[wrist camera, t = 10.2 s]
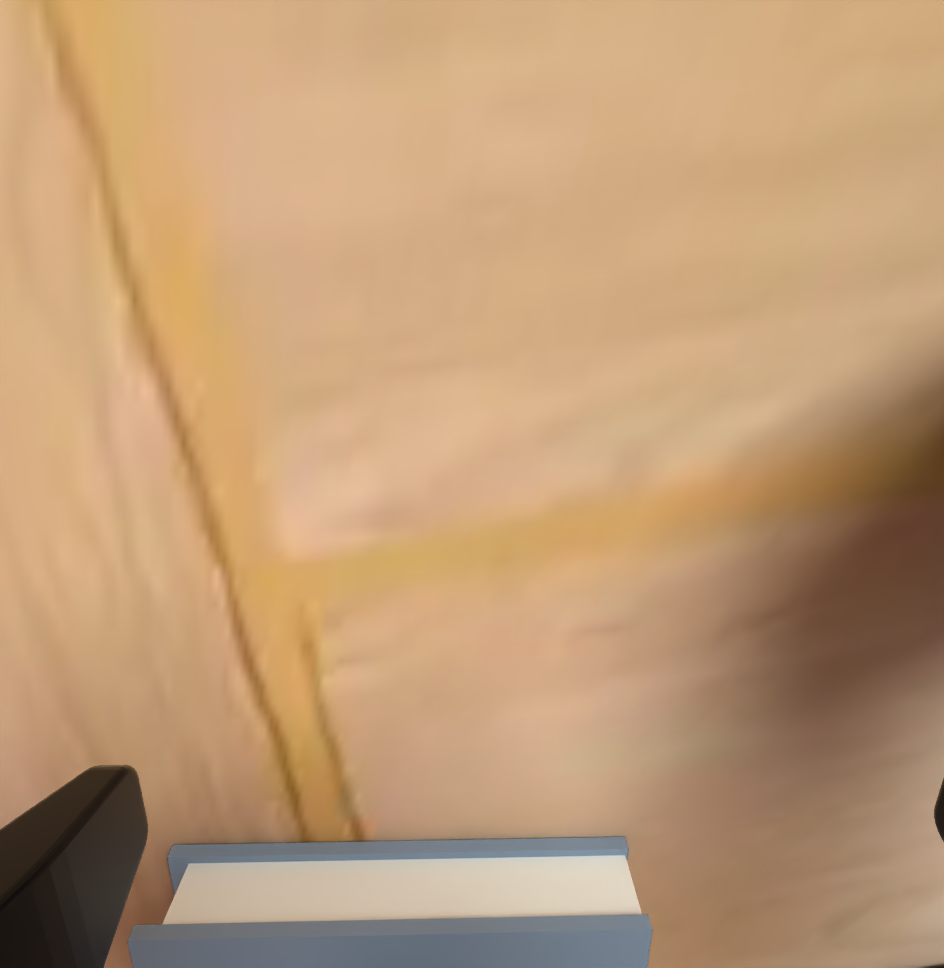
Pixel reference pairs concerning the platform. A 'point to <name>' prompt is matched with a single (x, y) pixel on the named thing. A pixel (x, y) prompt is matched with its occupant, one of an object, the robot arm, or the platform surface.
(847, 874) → the platform surface
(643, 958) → the book
